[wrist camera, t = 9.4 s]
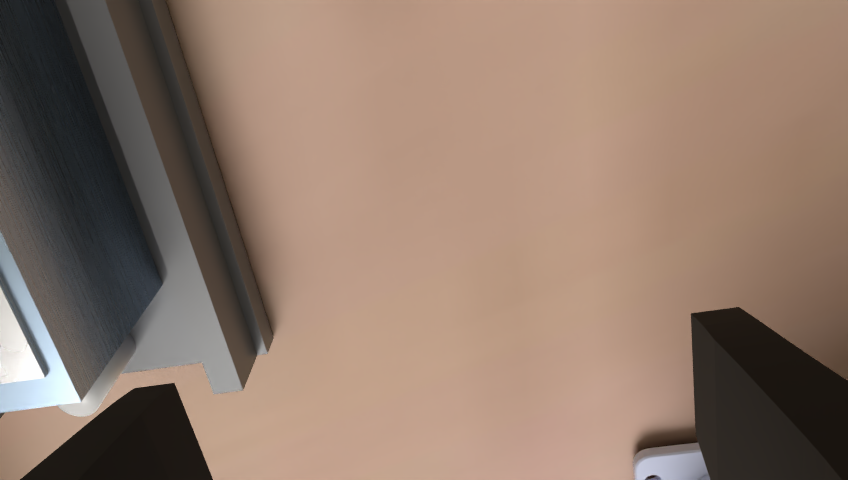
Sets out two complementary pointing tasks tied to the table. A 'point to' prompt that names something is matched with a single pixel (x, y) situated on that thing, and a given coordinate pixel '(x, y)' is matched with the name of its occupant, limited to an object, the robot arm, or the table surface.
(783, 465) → the robot arm
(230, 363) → the tray
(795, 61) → the table surface
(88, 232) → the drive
